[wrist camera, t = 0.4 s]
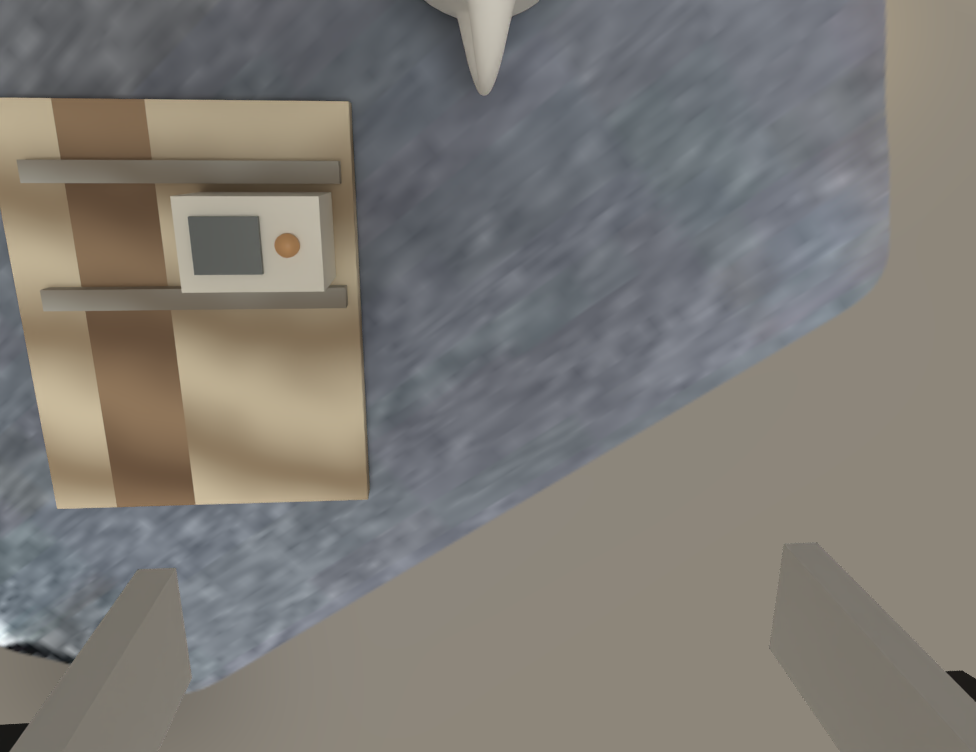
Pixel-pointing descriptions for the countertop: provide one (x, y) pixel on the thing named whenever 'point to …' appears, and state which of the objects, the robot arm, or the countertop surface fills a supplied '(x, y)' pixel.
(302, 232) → the block
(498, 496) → the countertop surface
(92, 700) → the robot arm
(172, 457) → the subfloor panel
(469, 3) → the mug
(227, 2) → the countertop surface
